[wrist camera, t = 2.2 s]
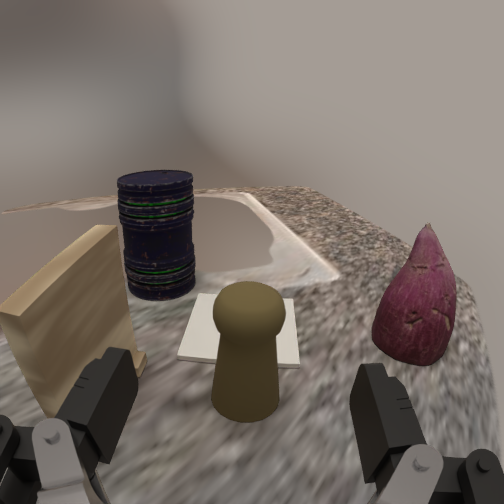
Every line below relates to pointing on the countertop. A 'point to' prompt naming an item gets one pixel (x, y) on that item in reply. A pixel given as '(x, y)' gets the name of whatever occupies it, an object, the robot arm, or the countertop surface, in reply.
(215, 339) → the coaster
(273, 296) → the cork
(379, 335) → the vegetable
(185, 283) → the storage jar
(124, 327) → the maple board
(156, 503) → the countertop surface
